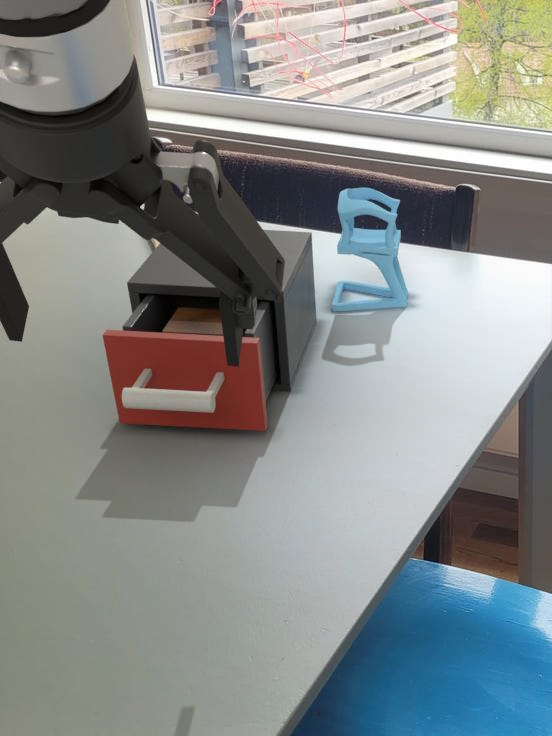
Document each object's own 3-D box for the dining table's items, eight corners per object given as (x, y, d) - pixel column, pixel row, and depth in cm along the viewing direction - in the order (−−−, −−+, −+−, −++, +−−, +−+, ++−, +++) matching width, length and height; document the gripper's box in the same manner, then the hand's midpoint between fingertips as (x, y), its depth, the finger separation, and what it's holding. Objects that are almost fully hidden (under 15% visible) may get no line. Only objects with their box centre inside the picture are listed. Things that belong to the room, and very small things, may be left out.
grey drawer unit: (291, 394, 94) (283, 291, 88) (144, 386, 94) (126, 282, 88) (316, 326, 107) (311, 232, 101) (188, 319, 107) (175, 224, 101)
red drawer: (252, 464, 82) (242, 373, 77) (98, 456, 81) (78, 364, 76) (294, 357, 98) (288, 277, 93) (166, 350, 98) (154, 269, 93)
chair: (406, 316, 110) (406, 203, 103) (331, 313, 110) (325, 199, 102) (409, 291, 116) (410, 182, 109) (338, 288, 116) (333, 178, 108)
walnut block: (161, 331, 85) (178, 307, 89) (171, 392, 88) (186, 365, 93) (227, 334, 85) (240, 310, 89) (234, 395, 89) (246, 369, 93)
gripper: (-275, 77, 42) (-87, 362, 62) (320, 164, 46) (317, 407, 65) (-230, -52, 44) (-63, 263, 64) (333, 41, 48) (325, 311, 68)
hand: (129, 336), depth 65 cm, fingers open, 13 cm apart
